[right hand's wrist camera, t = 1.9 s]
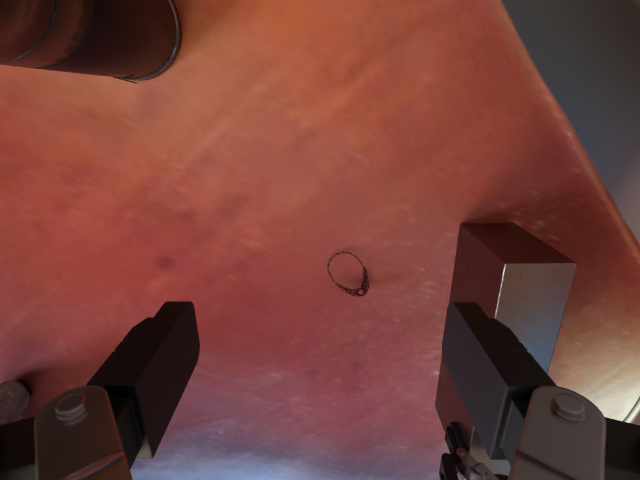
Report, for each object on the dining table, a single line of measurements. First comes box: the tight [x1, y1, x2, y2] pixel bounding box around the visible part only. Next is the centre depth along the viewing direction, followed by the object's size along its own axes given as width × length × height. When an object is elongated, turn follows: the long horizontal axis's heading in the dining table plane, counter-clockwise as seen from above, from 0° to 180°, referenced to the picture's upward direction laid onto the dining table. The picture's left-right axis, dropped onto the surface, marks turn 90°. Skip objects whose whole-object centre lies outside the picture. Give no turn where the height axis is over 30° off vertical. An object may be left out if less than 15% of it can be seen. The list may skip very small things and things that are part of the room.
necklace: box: [327, 252, 369, 296], centre depth 43 cm, size 4×6×1 cm
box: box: [435, 223, 577, 476], centre depth 41 cm, size 27×6×11 cm, turn 0°
